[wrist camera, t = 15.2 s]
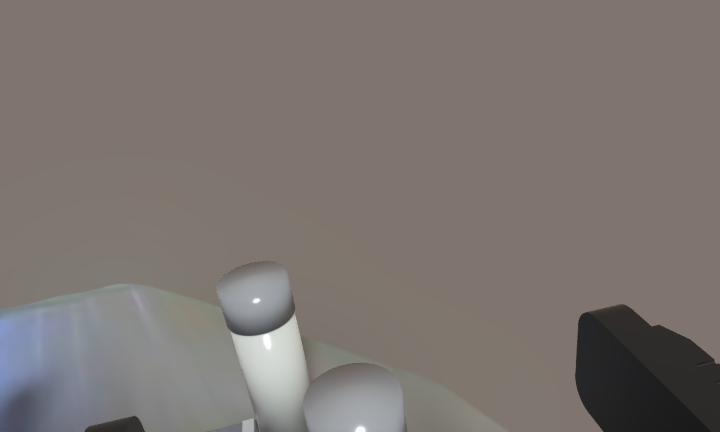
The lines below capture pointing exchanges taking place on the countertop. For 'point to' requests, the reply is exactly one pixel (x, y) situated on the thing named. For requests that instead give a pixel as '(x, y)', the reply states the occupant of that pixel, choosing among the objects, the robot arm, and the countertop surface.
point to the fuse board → (241, 427)
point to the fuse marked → (355, 400)
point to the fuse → (267, 343)
